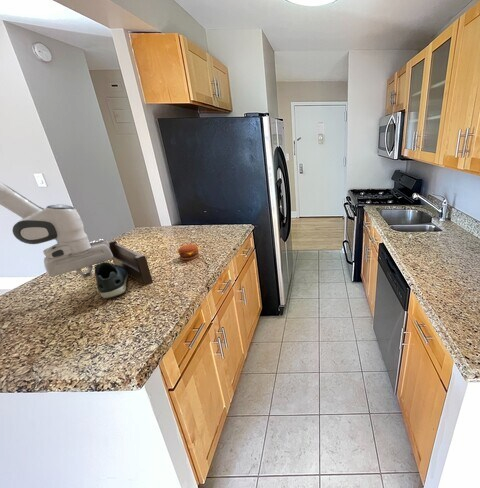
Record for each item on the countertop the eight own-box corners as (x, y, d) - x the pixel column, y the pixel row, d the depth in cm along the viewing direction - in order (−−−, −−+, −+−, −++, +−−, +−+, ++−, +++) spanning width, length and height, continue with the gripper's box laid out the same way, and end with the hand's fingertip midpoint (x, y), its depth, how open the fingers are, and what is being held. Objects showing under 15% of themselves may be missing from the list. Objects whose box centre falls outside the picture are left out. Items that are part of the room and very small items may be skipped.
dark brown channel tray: (145, 285, 111) (136, 258, 106) (115, 266, 128) (106, 242, 123) (153, 282, 113) (145, 255, 108) (122, 264, 130) (114, 240, 125)
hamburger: (187, 252, 143) (185, 241, 140) (203, 254, 141) (201, 242, 139) (175, 260, 134) (172, 248, 132) (192, 261, 132) (189, 249, 130)
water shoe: (125, 268, 125) (118, 246, 121) (135, 293, 105) (127, 268, 101) (97, 276, 119) (88, 253, 114) (102, 303, 99) (92, 277, 94)
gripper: (104, 236, 111) (113, 265, 116) (36, 252, 95) (51, 284, 101) (110, 239, 108) (119, 269, 113) (41, 256, 92) (56, 289, 97)
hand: (87, 276), depth 107 cm, fingers closed
